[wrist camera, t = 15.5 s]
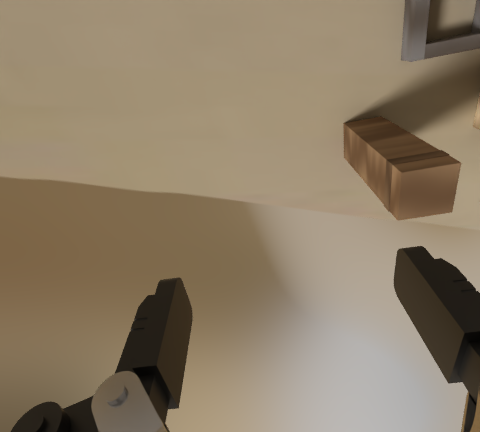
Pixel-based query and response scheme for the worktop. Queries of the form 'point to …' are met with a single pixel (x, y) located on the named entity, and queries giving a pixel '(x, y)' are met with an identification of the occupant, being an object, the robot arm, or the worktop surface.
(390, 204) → the wooden block
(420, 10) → the wooden chest
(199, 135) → the worktop surface
